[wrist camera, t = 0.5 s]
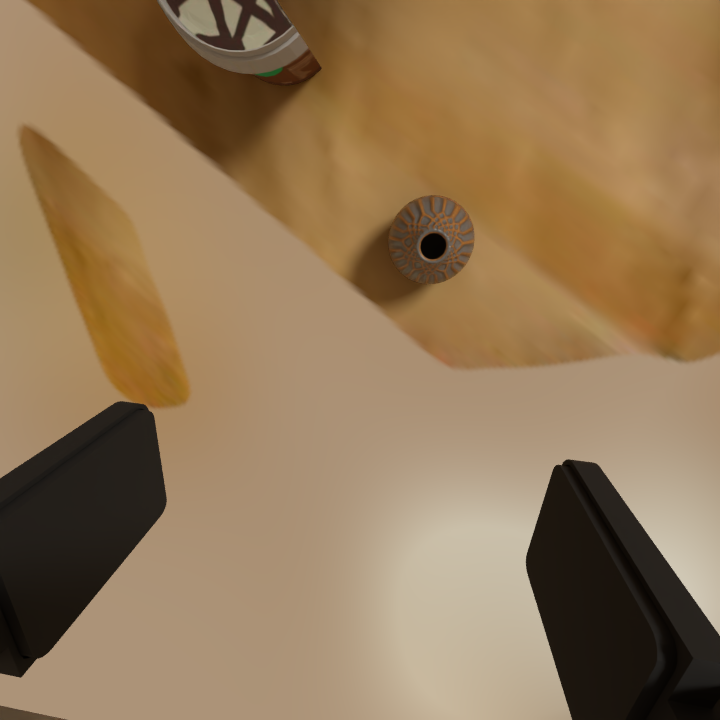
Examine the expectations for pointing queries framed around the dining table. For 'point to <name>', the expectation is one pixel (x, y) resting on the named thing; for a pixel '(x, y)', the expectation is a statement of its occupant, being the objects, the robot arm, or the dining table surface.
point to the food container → (244, 37)
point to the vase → (431, 239)
